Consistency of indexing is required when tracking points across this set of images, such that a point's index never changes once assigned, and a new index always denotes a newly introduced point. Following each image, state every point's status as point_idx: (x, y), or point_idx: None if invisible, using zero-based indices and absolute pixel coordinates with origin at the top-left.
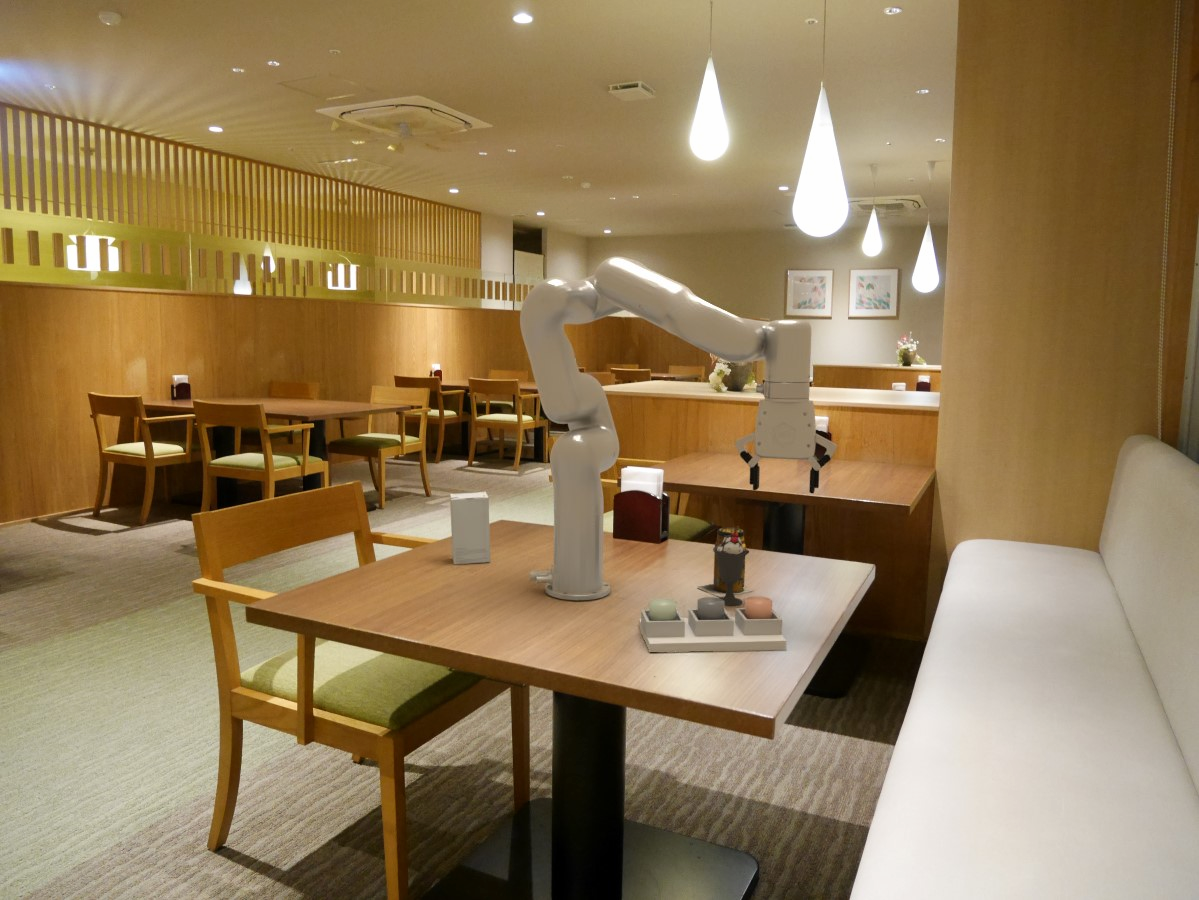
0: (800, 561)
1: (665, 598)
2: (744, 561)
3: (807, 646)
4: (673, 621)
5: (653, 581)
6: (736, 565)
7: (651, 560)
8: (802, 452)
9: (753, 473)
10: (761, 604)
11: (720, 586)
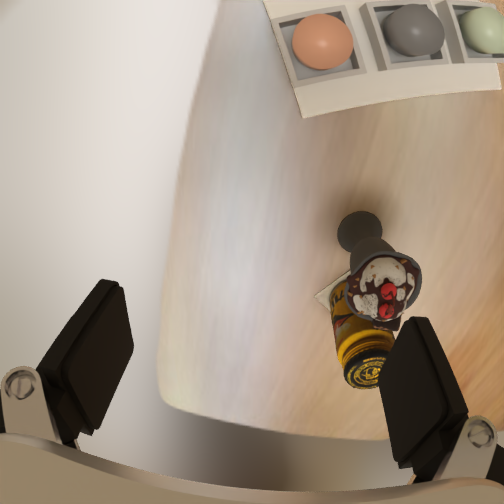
0: (239, 410)
1: (494, 49)
2: (337, 326)
3: (226, 26)
4: (462, 1)
5: (454, 307)
6: (369, 250)
7: None
8: (27, 497)
9: (456, 382)
10: (316, 14)
11: None
